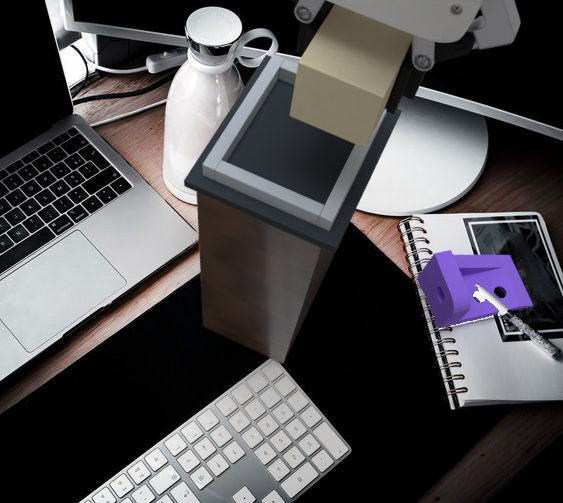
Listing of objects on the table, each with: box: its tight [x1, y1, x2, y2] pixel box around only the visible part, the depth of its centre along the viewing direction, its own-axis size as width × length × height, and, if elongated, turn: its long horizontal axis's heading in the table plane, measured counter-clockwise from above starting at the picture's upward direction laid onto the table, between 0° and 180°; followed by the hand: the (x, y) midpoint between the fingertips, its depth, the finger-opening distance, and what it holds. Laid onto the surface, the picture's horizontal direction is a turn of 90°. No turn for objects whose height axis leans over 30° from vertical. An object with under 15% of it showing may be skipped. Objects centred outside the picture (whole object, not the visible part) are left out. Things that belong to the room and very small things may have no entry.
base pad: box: [183, 54, 402, 254], centre depth 46 cm, size 12×14×2 cm
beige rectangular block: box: [290, 4, 412, 148], centre depth 37 cm, size 5×9×4 cm, turn 155°
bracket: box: [416, 249, 534, 328], centre depth 72 cm, size 12×7×7 cm, turn 105°
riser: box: [196, 192, 335, 365], centre depth 60 cm, size 10×14×28 cm
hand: (355, 77), depth 38 cm, fingers closed on beige rectangular block, 5 cm apart
